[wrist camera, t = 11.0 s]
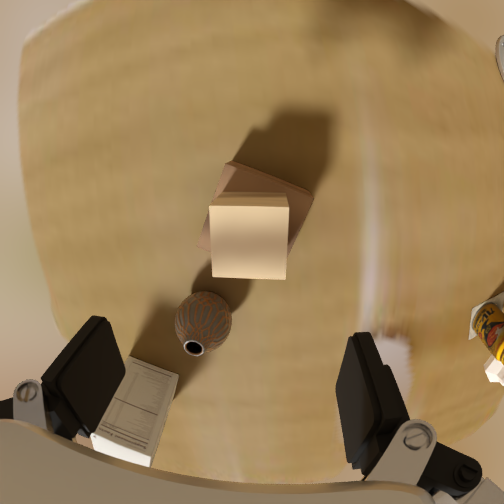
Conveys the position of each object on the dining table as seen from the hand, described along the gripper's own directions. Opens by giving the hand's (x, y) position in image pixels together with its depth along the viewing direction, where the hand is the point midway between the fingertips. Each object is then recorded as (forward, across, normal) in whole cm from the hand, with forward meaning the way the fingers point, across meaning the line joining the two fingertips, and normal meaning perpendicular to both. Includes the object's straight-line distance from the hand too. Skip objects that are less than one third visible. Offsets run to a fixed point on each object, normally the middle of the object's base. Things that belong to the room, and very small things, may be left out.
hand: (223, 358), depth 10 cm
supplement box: (+24, +18, +30) cm, 43 cm away
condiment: (+24, -41, +16) cm, 50 cm away
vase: (+24, +6, +13) cm, 28 cm away
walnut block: (+24, 0, 0) cm, 24 cm away
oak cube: (+19, 0, 0) cm, 19 cm away
